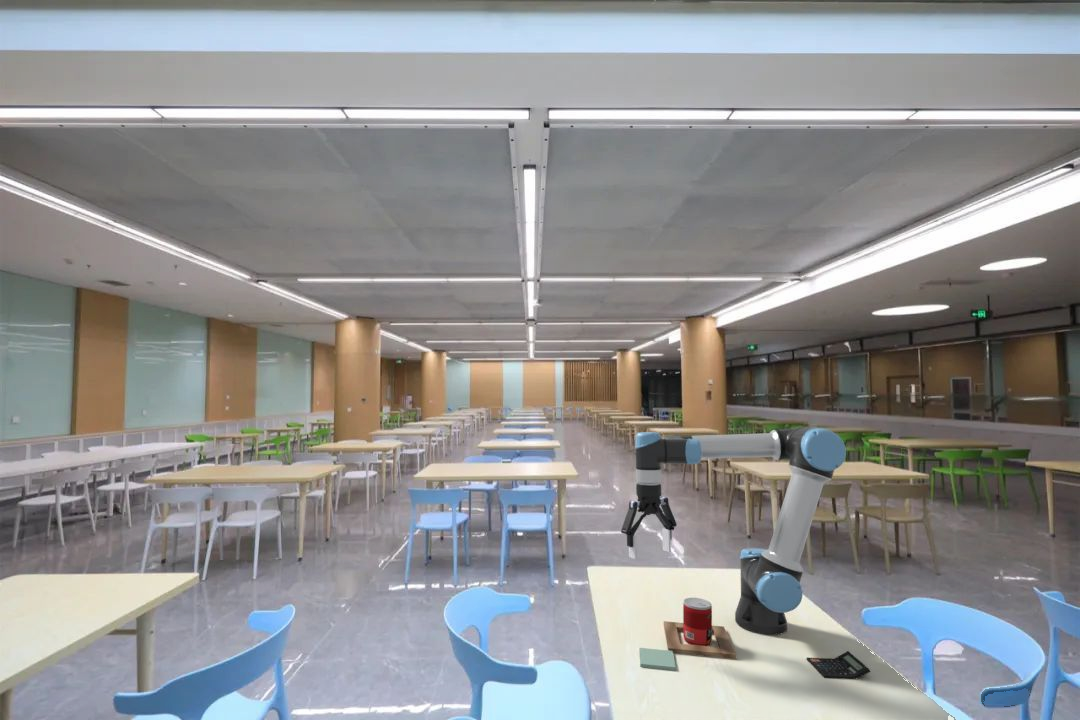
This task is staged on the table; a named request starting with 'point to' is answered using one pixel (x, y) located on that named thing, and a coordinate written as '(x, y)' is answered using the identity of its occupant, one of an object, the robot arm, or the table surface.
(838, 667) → the calculator
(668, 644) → the pocket board
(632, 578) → the table surface
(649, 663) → the plate
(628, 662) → the table surface
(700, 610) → the canned food
